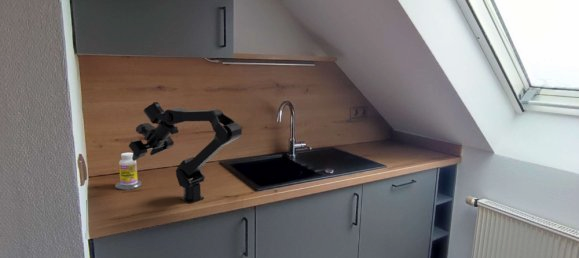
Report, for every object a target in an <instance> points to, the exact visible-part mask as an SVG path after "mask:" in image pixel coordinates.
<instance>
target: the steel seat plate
mask: <svg viewBox="0 0 579 258" xmlns="http://www.w3.org/2000/svg"><path fill="white" fill-rule="evenodd" d="M137 180H138V181H137V183H136V184H134V185H130V186H124V185H121V183H120V181H118V182H116V183H115V185H114V186H115V189H116V190H120V191H130V190H135V189H138V188H141V187H142V181H141V180H139V179H137Z"/></svg>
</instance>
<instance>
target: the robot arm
mask: <svg viewBox="0 0 579 258" xmlns="http://www.w3.org/2000/svg"><path fill="white" fill-rule="evenodd" d="M143 113H144V114H145V116H146V117H147V119H148V120H149V121H150V122H151V123H150V122H144V123H140V124H139V125H137V126H136V127H135V132H136V133H137V134H139V135H142V136H144V137H143V139H144V140H145V141H146V143H143V141H142V139H135V140H132V141H130V142H129V144H128V147H129V149H130V150H131V151H132V153H133V157H132V159H133V161H135V160H136V161H137V160H139V159H141V158H143V157H144V156H146V155H147V153H148V151H149V150H151V149H152V150H151V151H150V152H149V155H150V157H151V156H154V155H156V154H159V153H161V152H164V151H166V150H168V149H171V148H172V147H173V146H174V145H175V144H174V143H175V142H174V140H173V139H172V138H171V136H170V135H176V134H179V128H178V126H176V125H177V124H181V123H185V122H209V123H210V125H211V127H212V130H213V132H215V134H214V137H213V139H212V140H211V141H210V142H209V143H208V144H207V145H206V146H205V147H204V148H202V150H200V151H199V152H198V153H197V154H196V155H195V156H192V157H189V158H187V159H183V160H182V161H181V162H180V164H178V165H176V167H177V168H176V169H175V175H176V179H177V182H178V184H179V187H182V188H183V196H182V197H180V200H182V201H184V202H187V203H188V204H192V203H195V202H198V201H201V200H204V199H205V196H202V193H201V191H202V190H201V184H200V183H203V182H204V181H205V178H206V176H205V175H204V174H203V172H202V169H203V166H204V165H205V164H206V163H207V162H208V161H209V160H210V159H212V158H213V157H214V156H215V155H216V154H217V153H218V152H219V151H220V150H222V148H224V147H225V146H226V145H229V144H231V143H232V142H234V141H236V140H237V139H239V138H241V137H242V135H243V133H242V132H243V130H242V128H241V126H240V124H238V123H237V122H235V120H234V119H232V118H231V117H229V116H228V115H226V114H224V113H223V111H222V110H220V109H218V108H216V109H205V110H204V109H202V110H201V109H200V110H189V109H186V108H182V107H175V108H169V109H166V110H164V108H162V107H161V105H160V103H159V102H158V101H156V102H154V101H153V103H151V104H149V105H148V106H147V107H145V108H144V109H143ZM152 124H153V125H154V124H156V125H157V126H156V127H155V126H153V125H152Z"/></svg>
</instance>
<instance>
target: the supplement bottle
mask: <svg viewBox="0 0 579 258" xmlns="http://www.w3.org/2000/svg"><path fill="white" fill-rule="evenodd" d="M120 157H121V159H120V160H119V162H118V168H119V169H118V170H119V182H120V183H121V185H124V186H130V185H134V184H136V183H137V181H138V180H139V179H138V168H137V167H138V166H137V165H138V163H137V160H135V161H133V159H132V157H133V152H122V153H121V154H120Z"/></svg>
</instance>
